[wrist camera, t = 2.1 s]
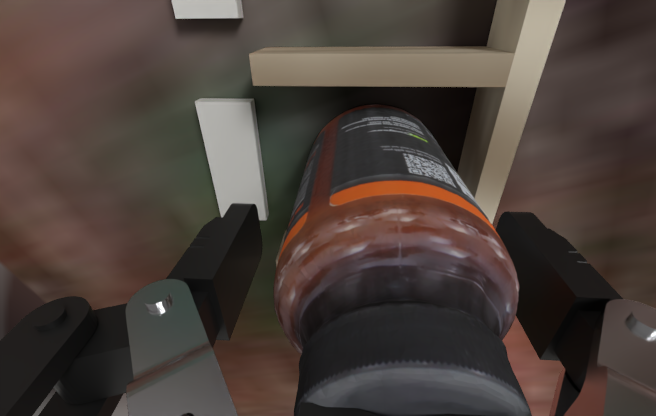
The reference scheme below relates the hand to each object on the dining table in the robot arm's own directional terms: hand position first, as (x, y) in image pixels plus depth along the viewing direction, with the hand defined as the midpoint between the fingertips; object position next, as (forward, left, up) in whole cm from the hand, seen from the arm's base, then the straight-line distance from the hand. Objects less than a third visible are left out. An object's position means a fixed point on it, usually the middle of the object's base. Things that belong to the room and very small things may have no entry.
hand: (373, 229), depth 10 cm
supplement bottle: (0, 0, -5) cm, 5 cm away
